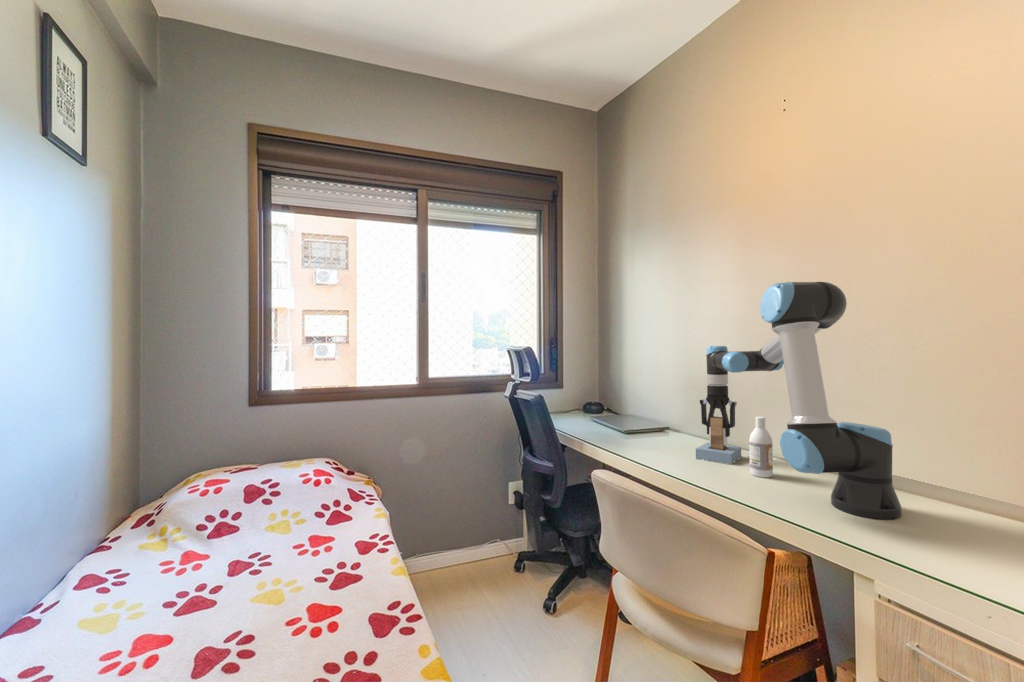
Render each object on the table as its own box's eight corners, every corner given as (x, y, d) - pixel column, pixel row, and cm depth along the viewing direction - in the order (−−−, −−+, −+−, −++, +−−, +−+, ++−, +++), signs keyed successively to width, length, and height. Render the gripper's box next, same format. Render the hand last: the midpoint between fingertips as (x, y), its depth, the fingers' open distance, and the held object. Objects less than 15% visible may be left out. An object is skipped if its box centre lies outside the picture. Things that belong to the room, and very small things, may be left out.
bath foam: (769, 479, 147) (768, 419, 147) (746, 475, 152) (746, 417, 152) (775, 474, 152) (774, 417, 152) (753, 470, 157) (752, 414, 157)
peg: (722, 452, 170) (722, 419, 170) (710, 450, 173) (710, 417, 173) (726, 450, 174) (725, 417, 174) (714, 448, 177) (714, 416, 177)
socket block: (731, 464, 164) (731, 454, 164) (695, 458, 173) (695, 448, 173) (741, 457, 174) (741, 447, 174) (707, 452, 183) (707, 442, 183)
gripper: (744, 385, 170) (745, 445, 170) (698, 382, 182) (699, 439, 182) (738, 387, 165) (739, 449, 165) (691, 384, 177) (692, 442, 177)
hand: (718, 443), depth 174 cm, fingers closed on peg, 4 cm apart
